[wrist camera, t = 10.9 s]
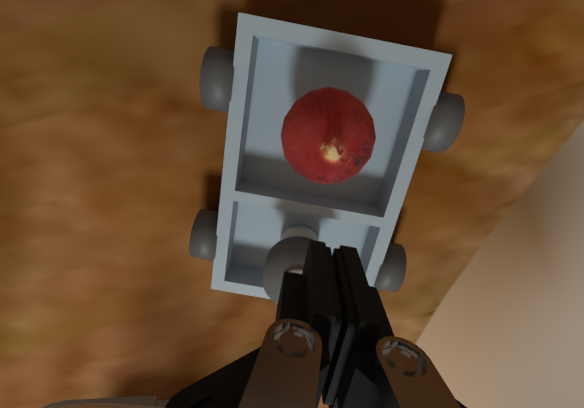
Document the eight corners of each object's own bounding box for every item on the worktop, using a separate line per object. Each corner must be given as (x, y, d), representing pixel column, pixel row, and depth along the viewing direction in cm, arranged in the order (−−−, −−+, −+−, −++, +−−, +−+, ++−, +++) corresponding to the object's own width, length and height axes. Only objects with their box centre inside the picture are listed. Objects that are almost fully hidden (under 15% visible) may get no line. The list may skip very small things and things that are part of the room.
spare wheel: (271, 230, 22) (267, 247, 20) (337, 242, 22) (341, 260, 20) (261, 286, 24) (257, 307, 22) (323, 296, 24) (324, 319, 22)
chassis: (222, 17, 22) (204, 4, 18) (455, 63, 22) (485, 60, 18) (201, 260, 29) (186, 287, 25) (377, 291, 30) (387, 321, 26)
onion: (378, 116, 23) (418, 140, 15) (330, 178, 25) (346, 226, 17) (313, 67, 21) (323, 67, 14) (268, 137, 23) (256, 169, 16)
